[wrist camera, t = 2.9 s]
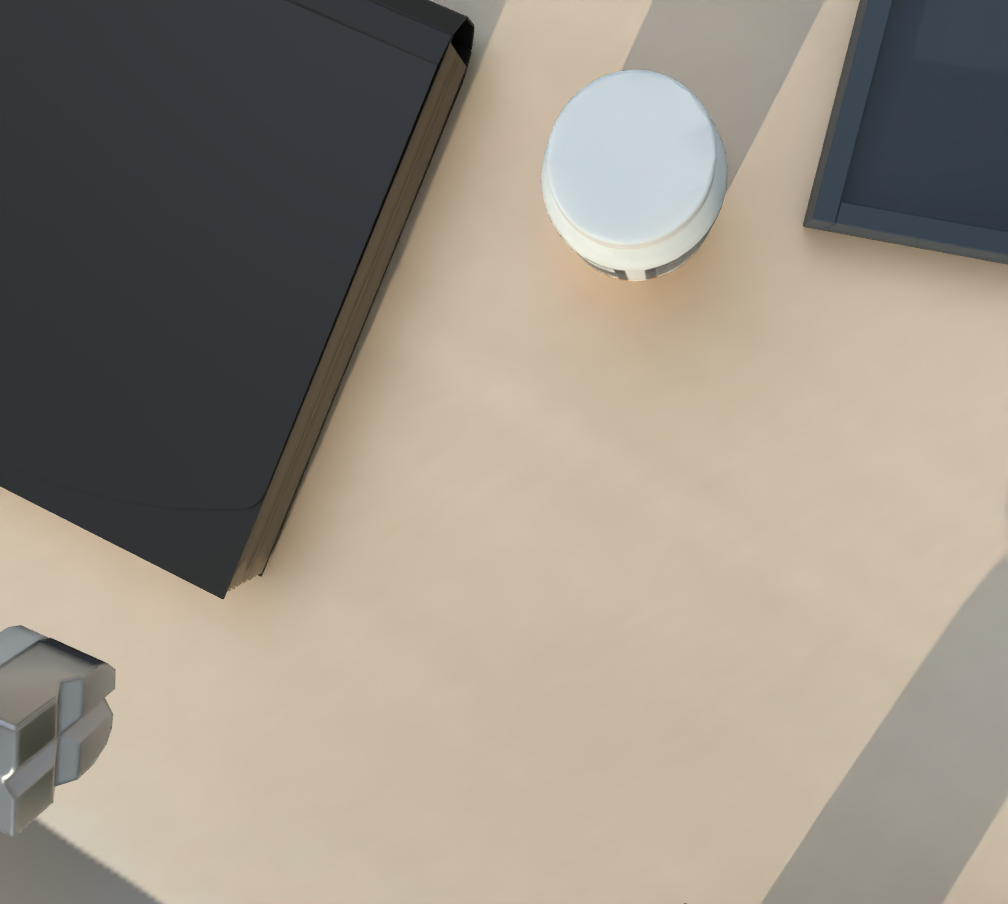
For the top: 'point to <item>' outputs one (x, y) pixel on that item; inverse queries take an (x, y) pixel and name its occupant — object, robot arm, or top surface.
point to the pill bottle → (634, 174)
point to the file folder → (199, 250)
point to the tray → (920, 129)
